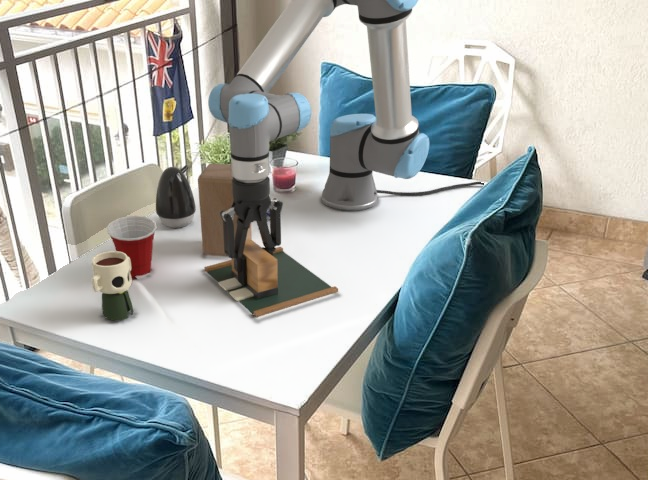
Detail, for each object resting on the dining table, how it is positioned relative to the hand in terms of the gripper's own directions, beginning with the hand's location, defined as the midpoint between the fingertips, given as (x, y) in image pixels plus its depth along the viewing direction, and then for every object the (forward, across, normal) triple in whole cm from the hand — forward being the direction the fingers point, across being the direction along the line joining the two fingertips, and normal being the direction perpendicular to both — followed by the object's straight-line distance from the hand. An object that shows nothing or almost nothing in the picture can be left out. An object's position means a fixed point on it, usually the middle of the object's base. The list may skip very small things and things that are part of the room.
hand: (254, 279), depth 151 cm
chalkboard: (+2, +4, 0) cm, 4 cm away
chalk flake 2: (+1, -4, -2) cm, 5 cm away
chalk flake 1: (+1, -4, +3) cm, 5 cm away
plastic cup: (+2, -19, +20) cm, 28 cm away
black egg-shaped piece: (+2, 0, +41) cm, 41 cm away
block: (+2, +4, +20) cm, 21 cm away
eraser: (+1, 0, 0) cm, 1 cm away
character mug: (+2, -29, +5) cm, 30 cm away
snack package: (+2, +21, +36) cm, 42 cm away
